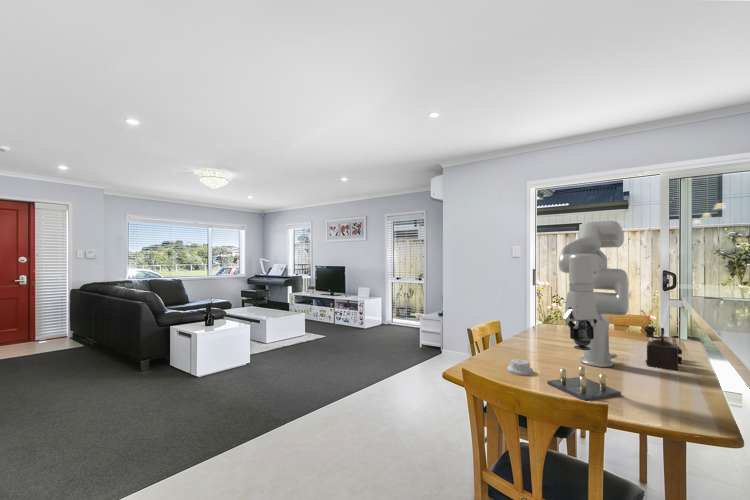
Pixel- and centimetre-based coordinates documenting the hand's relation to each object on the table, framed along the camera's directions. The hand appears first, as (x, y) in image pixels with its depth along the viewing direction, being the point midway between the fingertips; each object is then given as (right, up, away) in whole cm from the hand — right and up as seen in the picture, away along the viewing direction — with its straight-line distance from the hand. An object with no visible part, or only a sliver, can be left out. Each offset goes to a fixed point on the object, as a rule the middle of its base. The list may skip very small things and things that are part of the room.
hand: (581, 338), depth 126 cm
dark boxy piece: (+49, -19, +25) cm, 58 cm away
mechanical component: (-14, -19, +20) cm, 31 cm away
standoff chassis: (0, -18, 0) cm, 18 cm away
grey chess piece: (0, -4, 0) cm, 4 cm away
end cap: (+61, -19, +35) cm, 73 cm away
